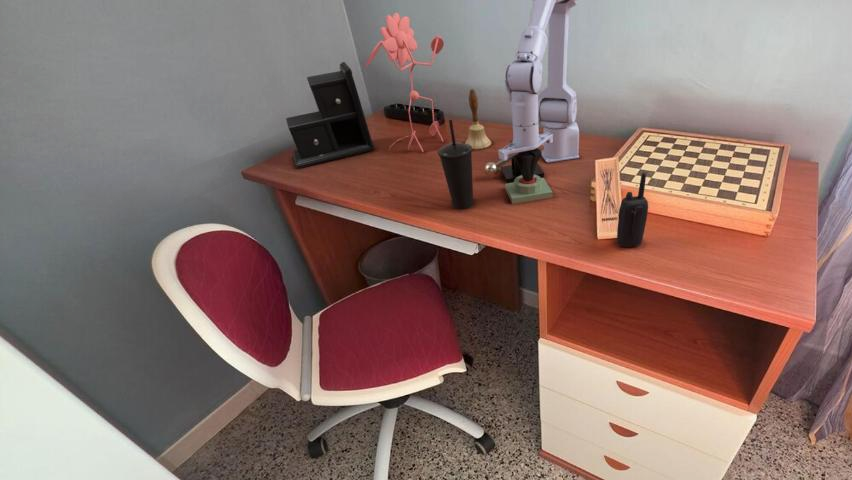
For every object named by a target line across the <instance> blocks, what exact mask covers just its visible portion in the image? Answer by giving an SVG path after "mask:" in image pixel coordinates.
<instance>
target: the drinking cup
mask: <svg viewBox="0 0 852 480" xmlns="http://www.w3.org/2000/svg"><path fill="white" fill-rule="evenodd" d="M448 123H449V131H450V137H451V142H450V143H446V144H445V145H442V146H441V147H439V148H438V150H437V155H438V156H439V158H440V162H441V165H442V170H443V173H444V176H445V180H446V183H447V189H448V191H449V195H450V199H451V203H452V206H453V208H454V209H456V210H461V211H462V210H467V209H470V208H471V207H473V205H474V189H473V187H474V186H473V185H474V184H473V160H472V159H473V158H472V157H473V156H472V153H473V149H472V146H471V145H469V144H465V142H460V141H456V135H455V130H454V125H453V120H452V119H449V120H448Z"/></svg>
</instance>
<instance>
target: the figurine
mask: <svg viewBox="0 0 852 480" xmlns="http://www.w3.org/2000/svg"><path fill="white" fill-rule="evenodd" d="M410 24H411V23H410V18H409V17H408V16H406V15H404V16H402V17H401V16H400V14H399V13H398V12H395V13H393V15H392V16H391V15H390V14H387V15H386V17H385V25H386V27H384V26H381V28H380V33H381V36H382V38H383V39H384V41H383V40H380V41H379V42H378V43H377V45H376V46H375V47H374V48H373V50H372V52H371V53H370V55H369V57H368V59H367V61H366V64H365V68H368V67H369V65H370V64H371V63H372V62H373V60H374V59H375V57H376V56H377V54H378V52H379V50H380V49H381V47H383V49H384V51H385V52H386V53H387V60H388V61H390V62H393V64H394V65H395V67H396V68H397V69H398V70H399V73H400V72H402V71H405V70H406V69H408V68H410V67H411V68H410V69H409V70H410V71H409V75H410V85H411V86H410V87H411V91H410V92H409V98H410V99H409V105H408V110H407V111H408V118H409V124H410V129H411V135H410V134H409V135H407V136H404V137H402V138H398V139H397V140H396V141H395V142H393V143H392V144H391V145H390V147H392V146H393V145H394V144H395V143H398V141H401V140H403V139H405V138H408V137H410V136H411V137H410V139H409V142H408V144H407V148H406V151H409V149H410V147H411V144H412V142H413V141H414V139H415V141H416V143H417V146H418V148H419V150H420V151H421V152H422V153H424V151H425V150H424V149H423V147H422V144H421V143H420V141H419V139H418V138H417V136H416V130H414V129H413V124H412V117H411V105H412V101H414V102H415V101H418V100H419V99H420V98H421V99H424V100H427V101H431V111H432V123H431V124H430V127H429V130H428V133H429V135H430V136H432V137H435V135H436V134H438V137H439V139H440V140H441V142H442V143H443V142H445V141H444V138H443V137H442V135H441V132H440V131H439V128H440V123H439V121H435V112H434V111H435V110H434V101H433V99H432V98H429V97H425V96H421V95H420V94H419V92H418V91H416V90H414V82H413V81H414V80H413V70H414V67H415V66H417V65H421V66H430V67H432V66H433V62H434V59H435V55H438V54H439V53H441V51H442V50H443V48H444V46H445V44H444V43H445V42H444V40H443V38H442V37H441V36H440V35H438V34H437V35H436V36H435V37H434V38H433V39H431V42H430V48H431V51H432V55H431V59H430V62H428V63H427V62H420V61H416V60H415V59H414V57H413V54H412V51H413V52H414V51H417V50H418V44H417V41H416V39H415V38H414V36H415V32H414V30H413V29H412V28H411V27H410ZM396 60H397V62H396ZM406 62H408V64H406ZM405 64H406V65H405ZM400 67H401V68H400ZM454 136H457V134H455V133H454ZM388 150H389V151H391V148H389V149H388Z"/></svg>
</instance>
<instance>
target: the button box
mask: <svg viewBox="0 0 852 480" xmlns="http://www.w3.org/2000/svg"><path fill="white" fill-rule="evenodd" d="M533 177H534V178H535V183H533V184H522V183H521V182H520V180H521V178H523V177H522V175H521V176H519V177H516V179H515V180H514V182H512V183H505V184H504V189H505V191H506V193H507V196H508V198H509V200H510V202H511V204H512V205H514V204H515V205H516V204H521V203H527V202H532V201H538V200H545V199H550V198H553V197H554V196H553V193H554V192H553V191H552V189H551V187H550V185H549V184H548V182H547V181H546V179H545V177H544V178H540V177H539V176H537V175H533Z"/></svg>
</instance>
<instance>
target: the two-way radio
mask: <svg viewBox="0 0 852 480" xmlns="http://www.w3.org/2000/svg"><path fill="white" fill-rule="evenodd" d="M646 179H647V173H646V172H642V173H641V175H640V181H639V187H638V193H637V195H636V196H635V195H633V192H632V191H628V192H627V193H626V195H625V197H624V198H622V199H621V202H620V206H619V208H618V219H617V229H616V244H617V245H618V246H620V247H622V248H631V247H637V246H640V245H641V244H642V243H643V238H644V235H645V234H644V233H645V229H646V225H647V220H648V219H647V218H648V213H649V201H648V199H647V198H646V197H645V196H644V195H645V189H646Z"/></svg>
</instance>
